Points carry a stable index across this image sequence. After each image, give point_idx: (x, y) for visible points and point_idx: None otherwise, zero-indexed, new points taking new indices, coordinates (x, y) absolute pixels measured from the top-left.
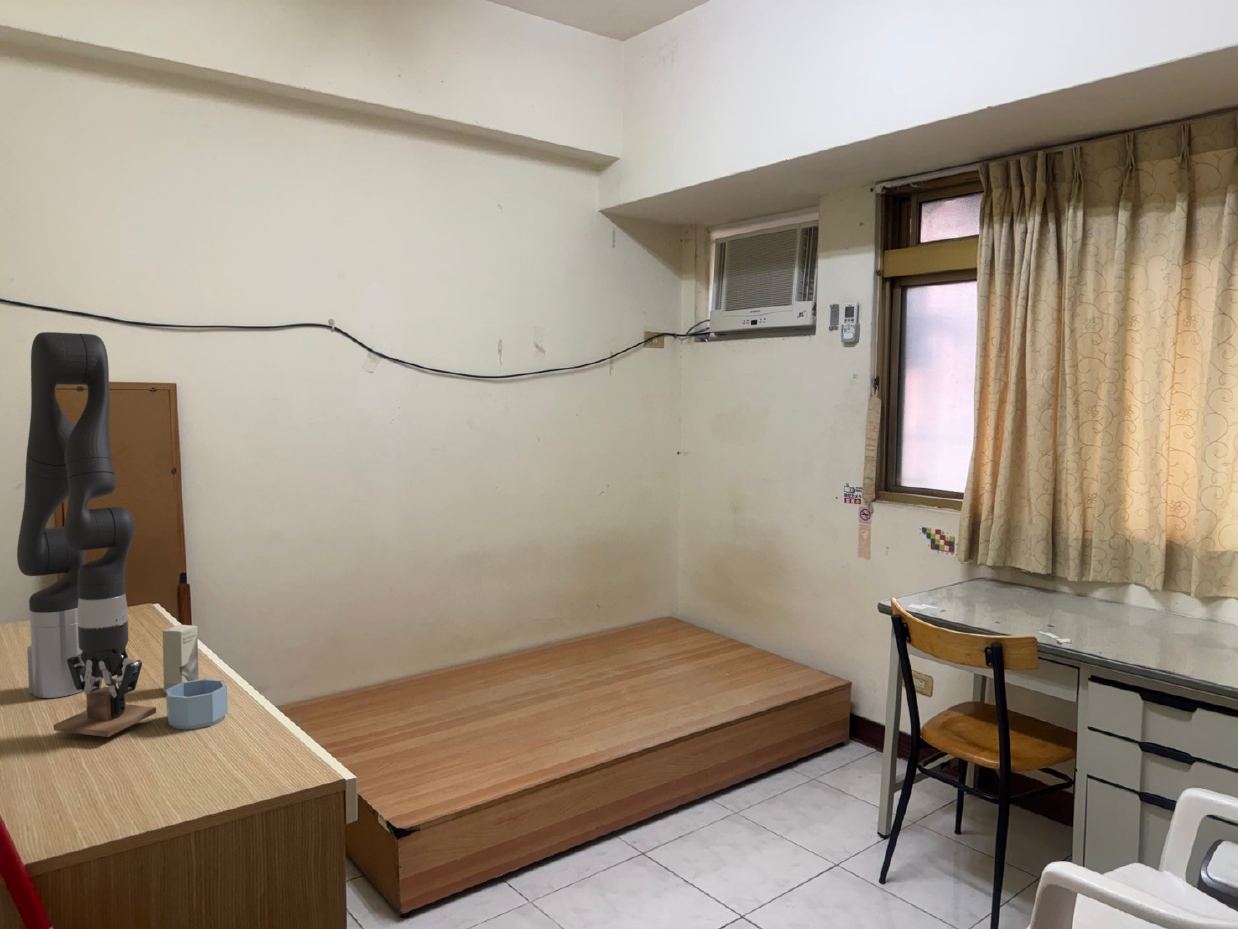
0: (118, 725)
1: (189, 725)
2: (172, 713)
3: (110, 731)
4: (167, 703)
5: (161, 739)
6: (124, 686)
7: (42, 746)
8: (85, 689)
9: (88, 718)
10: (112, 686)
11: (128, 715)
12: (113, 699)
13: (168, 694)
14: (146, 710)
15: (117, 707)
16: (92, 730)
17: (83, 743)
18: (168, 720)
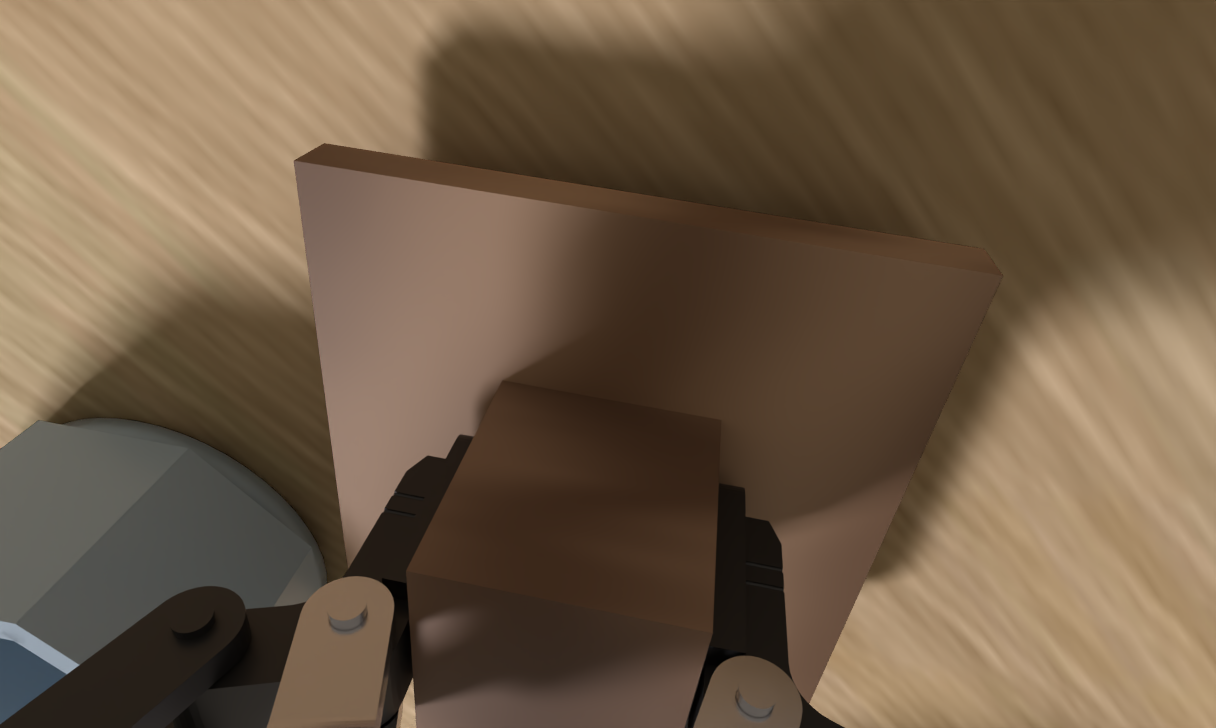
0: (324, 303)
1: (33, 427)
2: (100, 502)
3: (303, 187)
4: None
5: (91, 267)
6: (93, 684)
7: (995, 48)
8: (775, 725)
9: (707, 422)
10: (302, 710)
11: None
12: (391, 564)
13: (61, 656)
14: None
15: (405, 503)
16: (485, 187)
17: (622, 154)
18: (222, 489)
